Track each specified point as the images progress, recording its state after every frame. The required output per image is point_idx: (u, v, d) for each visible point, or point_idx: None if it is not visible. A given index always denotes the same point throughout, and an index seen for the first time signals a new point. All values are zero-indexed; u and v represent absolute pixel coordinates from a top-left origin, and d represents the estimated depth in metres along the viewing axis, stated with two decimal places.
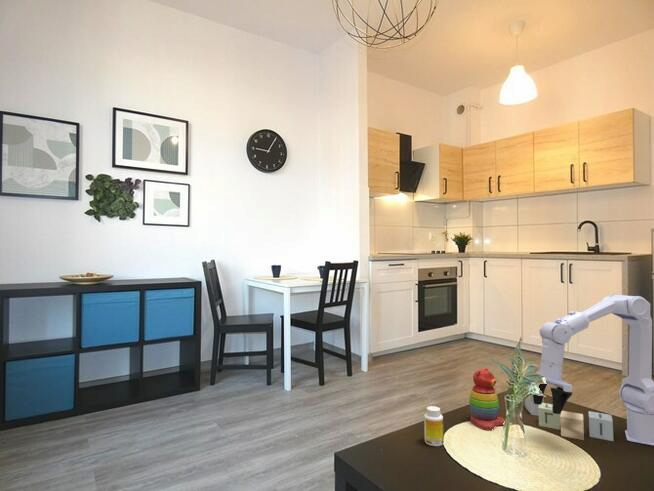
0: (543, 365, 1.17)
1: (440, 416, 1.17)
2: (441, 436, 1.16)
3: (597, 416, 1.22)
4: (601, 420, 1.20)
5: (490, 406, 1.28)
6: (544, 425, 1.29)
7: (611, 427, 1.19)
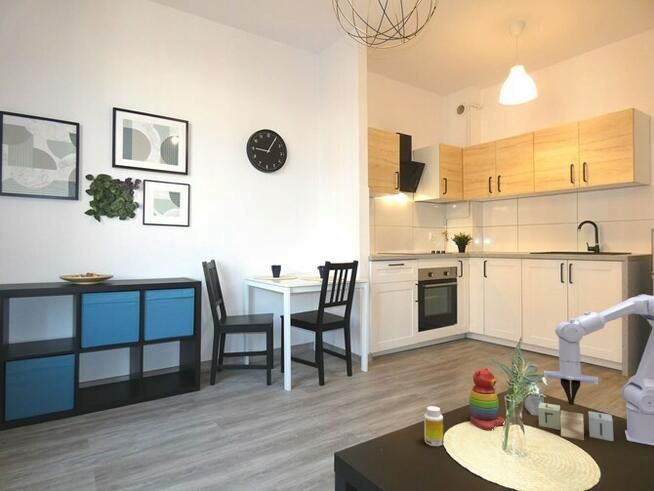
0: (570, 365, 1.22)
1: (440, 416, 1.17)
2: (441, 436, 1.16)
3: (597, 416, 1.22)
4: (601, 420, 1.20)
5: (490, 406, 1.28)
6: (544, 425, 1.29)
7: (611, 427, 1.19)
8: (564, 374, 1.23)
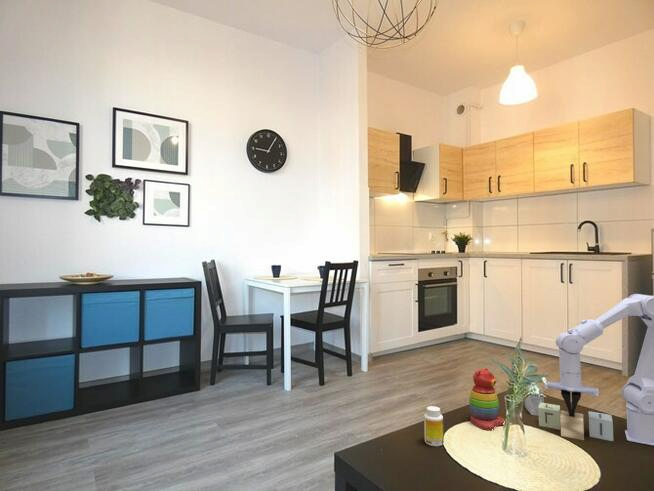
0: (570, 377, 1.22)
1: (440, 416, 1.17)
2: (441, 436, 1.16)
3: (597, 416, 1.22)
4: (601, 420, 1.20)
5: (490, 406, 1.28)
6: (544, 425, 1.29)
7: (611, 427, 1.19)
8: (564, 385, 1.23)
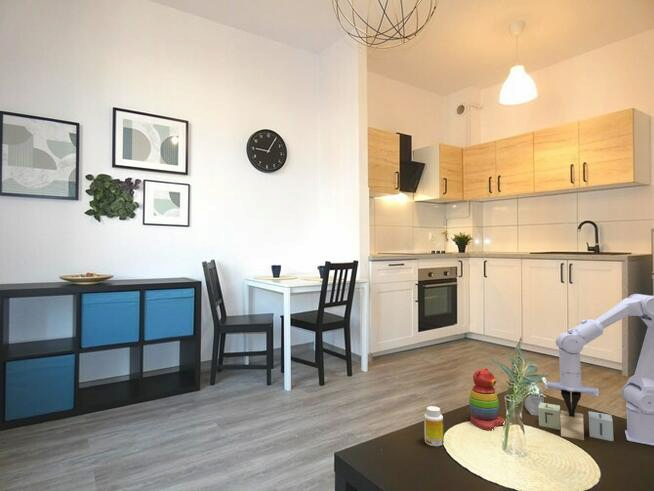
0: (570, 377, 1.22)
1: (440, 416, 1.17)
2: (441, 436, 1.16)
3: (597, 416, 1.22)
4: (601, 420, 1.20)
5: (490, 406, 1.28)
6: (544, 425, 1.29)
7: (611, 427, 1.19)
8: (564, 385, 1.23)
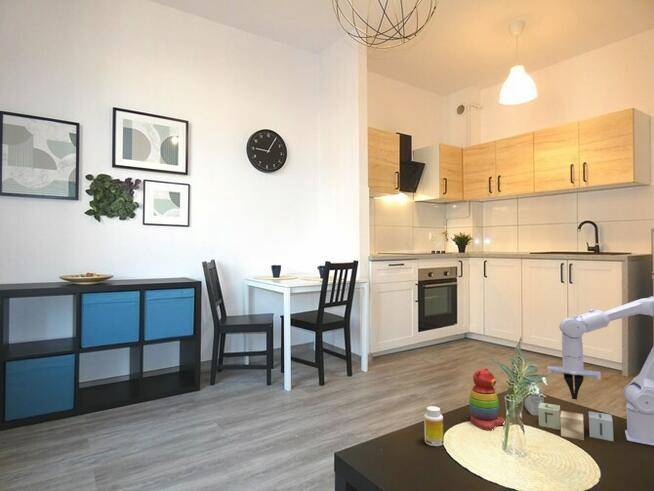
0: (573, 360, 1.24)
1: (440, 416, 1.17)
2: (441, 436, 1.16)
3: (597, 416, 1.22)
4: (601, 420, 1.20)
5: (490, 406, 1.28)
6: (544, 425, 1.29)
7: (611, 427, 1.19)
8: (567, 369, 1.25)
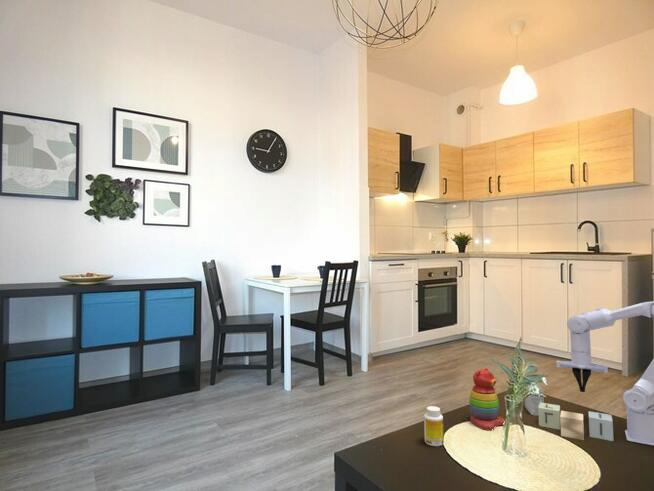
0: (581, 355, 1.31)
1: (440, 416, 1.17)
2: (441, 436, 1.16)
3: (597, 416, 1.22)
4: (601, 420, 1.20)
5: (490, 406, 1.28)
6: (544, 425, 1.29)
7: (611, 427, 1.19)
8: (576, 363, 1.32)
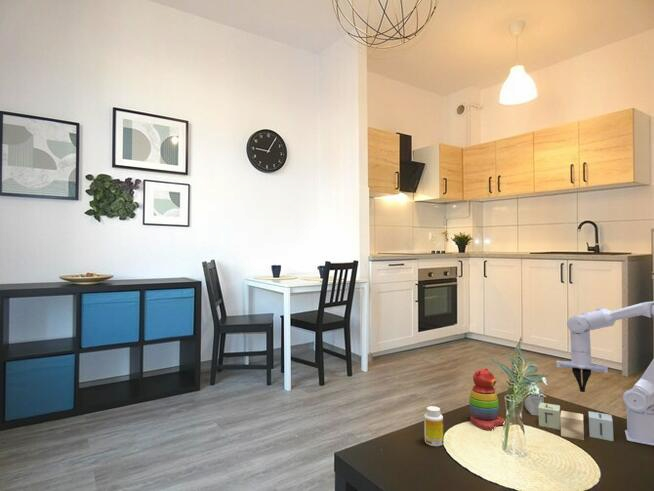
0: (581, 355, 1.31)
1: (440, 416, 1.17)
2: (441, 436, 1.16)
3: (597, 416, 1.22)
4: (601, 420, 1.20)
5: (490, 406, 1.28)
6: (544, 425, 1.29)
7: (611, 427, 1.19)
8: (576, 363, 1.32)
